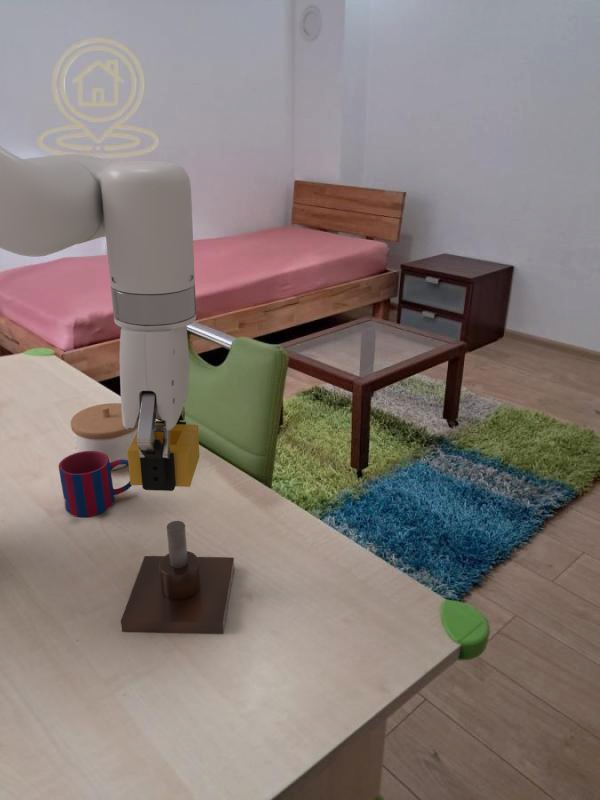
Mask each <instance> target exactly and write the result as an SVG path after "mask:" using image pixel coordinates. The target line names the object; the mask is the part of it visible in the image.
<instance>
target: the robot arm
mask: <svg viewBox="0 0 600 800" xmlns="http://www.w3.org/2000/svg"><path fill="white" fill-rule="evenodd" d="M192 206H193V204H192V186H191V179H190V176H189V174H188V172H187V170H186V169H185V168H184V167H183V166H181V165H180V164H177V163H174V162H169V161H161V160H123V161H119V160H113V159H108V158H103V157H98V156H93V155H88V154H80V153H70V154H69V153H67V154H58V155H48V156H38V157H28V158H21V157H20V156H17V155H16V154H14V153H12V152H11V151H9V150H7V149H5V148H4V147H2V146H1V145H0V249H2V250H4V251H6V252H10V253H13V254H16V255H19V256H24V257H32V258H37V257H38V258H39V257H46V256H49V255H53V254H55V253H59V252H61V251H64V250H66V249H68V248H71V247H73V246H75V245H80V244H83V243H87V242H90V241H93V240H97V239H100V238H104V237H105V241H106V251H107V261H108V271H109V281H110V282H109V283H110V293H111V302H112V315H113V321H114V324H115V325H116V326H118V327H120V336H119V379H120V380H119V381H120V382H119V384H120V404H121V407H122V422H123V426H124V427H125V428H126V429H128V430H130V429H131V428H134V427H135V425H136V423H137V422H138V420H139V426H138V434H137V445H138V447H139V456H140V465H141V476H142V485H141V486H142V489H143V490H144V491H158V492H159V491H160V492H161V491H163V492H164V491H165V492H172V491H174V490H175V488H176V487H177V486H176V482H175V466H174V453H170V439H171V429H172V428H173V427H174V426H175V425H176V424H187V421H185V419H186V409H185V405H186V402H187V399H188V397H189V393H190V355H189V340H188V339H189V338H188V327H187V326H190V325H191V324H194V323H195V322H196V320H197V302H196V282H195V281H196V279H195V278H196V277H195V257H194V256H195V255H194V254H195V253H194V230H193V207H192ZM155 423H159V424H165V425H158V424H155ZM154 432H163V444H162V443H161V441H160V440H156V437H155V435H154Z"/></svg>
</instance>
